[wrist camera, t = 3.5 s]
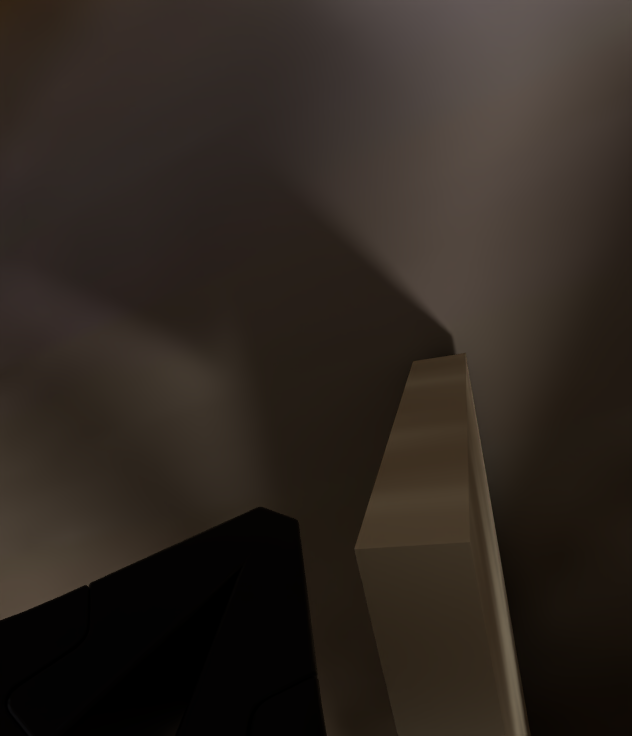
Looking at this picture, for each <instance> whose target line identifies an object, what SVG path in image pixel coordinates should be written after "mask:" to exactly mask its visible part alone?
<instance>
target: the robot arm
mask: <svg viewBox="0 0 632 736" xmlns="http://www.w3.org/2000/svg"><path fill="white" fill-rule="evenodd" d="M0 736H327V734H326V728H325V722H324V716H323V710H322V704H321V696H320V688H319V681H318V679H317V666H316V658H315V650H314V642H313V634H312V626H311V618H310V610H309V602H308V594H307V585H306V577H305V569H304V561H303V553H302V545H301V537H300V529H299V523H298V521H297V520H296V519H294V518H291V517H288V516H286V515H283V514H280V513H277V512H274V511H272V510H269V509H266V508H263V507H258V508H255V509H253V510H251V511H248V512H246V513H244V514H242V515H240V516H237V517H235V518H233V519H231V520H228V521H226V522H224V523H222V524H220V525H217V526H215V527H213V528H211V529H209V530H206V531H204V532H202V533H200V534H198V535H195V536H193V537H191V538H189V539H186V540H184V541H182V542H180V543H178V544H175V545H173V546H171V547H169V548H167V549H164V550H162V551H160V552H158V553H155V554H153V555H151V556H149V557H147V558H144V559H142V560H140V561H138V562H136V563H133V564H131V565H129V566H127V567H124V568H122V569H120V570H118V571H116V572H113V573H111V574H109V575H107V576H105V577H102V578H100V579H98V580H96V581H94V582H91V583H90V584H89V587H88V586H87V585H84V586H82V587H80V588H78V589H75V590H73V591H71V592H69V593H66V594H64V595H62V596H60V597H57V598H55V599H53V600H50V601H48V602H45V603H43V604H41V605H38V606H36V607H34V608H31V609H29V610H27V611H24V612H22V613H19V614H16V615H14V616H11V617H8V618H5V619H3V620H0Z"/></svg>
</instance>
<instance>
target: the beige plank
mask: <svg viewBox="0 0 632 736" xmlns="http://www.w3.org/2000/svg"><path fill="white" fill-rule="evenodd" d="M354 551H355V555H356V559H357V564H358V568H359V572H360V577H361V581H362V585H363V589H364V594H365V598H366V602H367V606H368V611H369V615H370V619H371V623H372V628H373V632H374V636H375V640H376V645H377V649H378V653H379V657H380V662H381V666H382V670H383V674H384V679H385V683H386V687H387V691H388V696H389V700H390V704H391V708H392V713H393V717H394V721H395V725H396V730H397V734H398V736H531V734H530V728H529V722H528V716H527V710H526V704H525V698H524V693H523V687H522V681H521V675H520V669H519V663H518V657H517V652H516V646H515V640H514V634H513V628H512V622H511V617H510V611H509V605H508V599H507V593H506V587H505V581H504V576H503V570H502V564H501V558H500V552H499V546H498V540H497V535H496V529H495V523H494V517H493V511H492V505H491V500H490V494H489V488H488V482H487V476H486V470H485V464H484V459H483V453H482V447H481V441H480V435H479V429H478V423H477V418H476V412H475V406H474V400H473V394H472V388H471V383H470V377H469V371H468V365H467V359H466V353H462V354H456V355H449V356H443V357H437V358H430V359H424V360H418V361H413V363H412V366H411V369H410V372H409V376H408V379H407V382H406V385H405V388H404V392H403V395H402V398H401V401H400V404H399V407H398V411H397V414H396V417H395V420H394V423H393V427H392V430H391V433H390V436H389V439H388V443H387V446H386V449H385V452H384V455H383V459H382V462H381V465H380V468H379V471H378V475H377V478H376V481H375V484H374V487H373V491H372V494H371V497H370V500H369V503H368V506H367V510H366V513H365V516H364V519H363V522H362V526H361V529H360V532H359V535H358V538H357V542H356V545H355V548H354Z"/></svg>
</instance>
